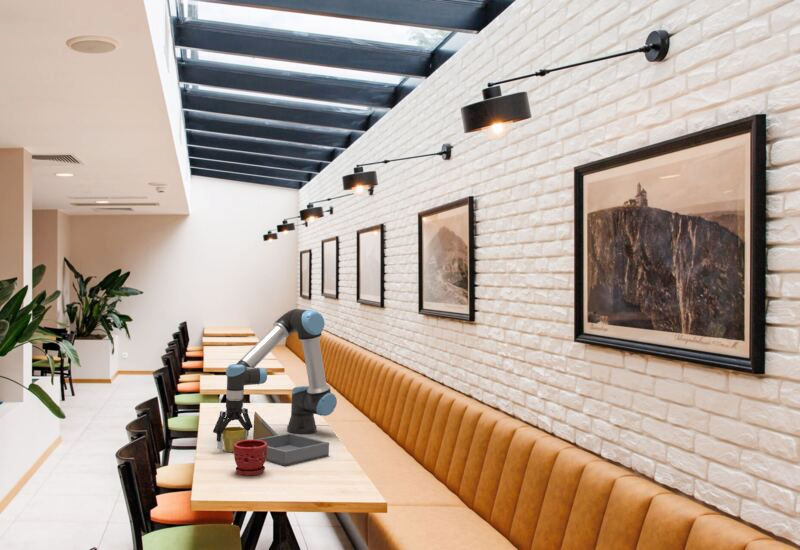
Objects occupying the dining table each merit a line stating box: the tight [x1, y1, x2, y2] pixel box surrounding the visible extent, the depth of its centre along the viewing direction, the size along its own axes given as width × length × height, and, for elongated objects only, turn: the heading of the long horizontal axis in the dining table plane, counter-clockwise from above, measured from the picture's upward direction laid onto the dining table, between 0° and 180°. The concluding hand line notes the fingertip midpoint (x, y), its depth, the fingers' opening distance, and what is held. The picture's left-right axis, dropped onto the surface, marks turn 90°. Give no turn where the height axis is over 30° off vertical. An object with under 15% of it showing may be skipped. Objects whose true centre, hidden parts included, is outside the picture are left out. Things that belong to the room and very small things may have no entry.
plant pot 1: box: [222, 426, 245, 453], centre depth 323 cm, size 10×10×10 cm
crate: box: [248, 432, 330, 467], centre depth 318 cm, size 26×26×6 cm
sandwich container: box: [252, 411, 279, 440], centre depth 338 cm, size 9×15×15 cm, turn 100°
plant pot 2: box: [233, 439, 267, 476], centre depth 287 cm, size 13×13×12 cm
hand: (232, 446), depth 323 cm, fingers open, 13 cm apart
